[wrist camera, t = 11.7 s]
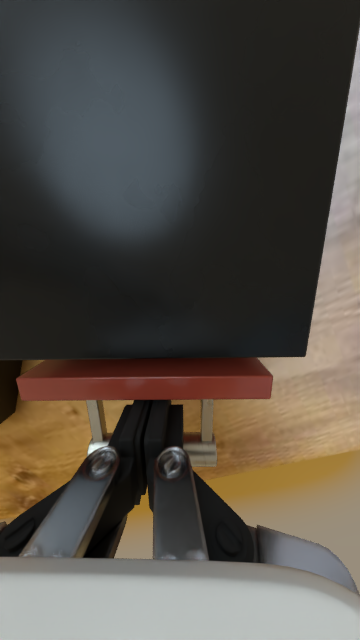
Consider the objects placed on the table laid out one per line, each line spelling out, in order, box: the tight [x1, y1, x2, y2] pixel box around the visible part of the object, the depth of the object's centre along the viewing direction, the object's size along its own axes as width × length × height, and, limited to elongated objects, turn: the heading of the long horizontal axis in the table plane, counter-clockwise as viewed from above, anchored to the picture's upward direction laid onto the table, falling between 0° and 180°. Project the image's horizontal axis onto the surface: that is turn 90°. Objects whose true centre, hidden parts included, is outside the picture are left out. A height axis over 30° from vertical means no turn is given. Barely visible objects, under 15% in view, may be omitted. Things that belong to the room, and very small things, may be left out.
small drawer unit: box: [0, 0, 360, 360], centre depth 9 cm, size 15×13×9 cm
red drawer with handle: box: [16, 357, 273, 467], centre depth 10 cm, size 18×11×7 cm, turn 1°
